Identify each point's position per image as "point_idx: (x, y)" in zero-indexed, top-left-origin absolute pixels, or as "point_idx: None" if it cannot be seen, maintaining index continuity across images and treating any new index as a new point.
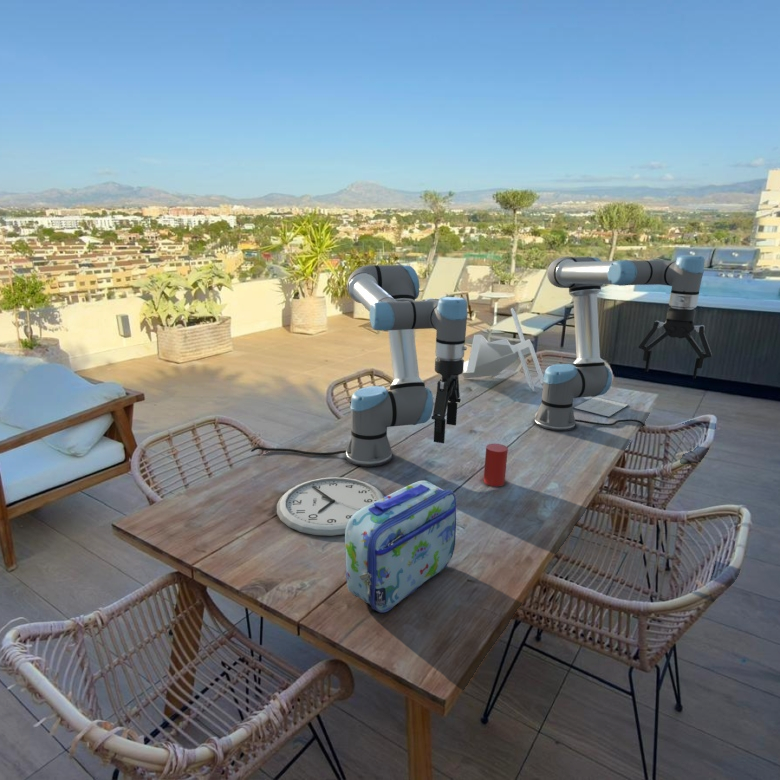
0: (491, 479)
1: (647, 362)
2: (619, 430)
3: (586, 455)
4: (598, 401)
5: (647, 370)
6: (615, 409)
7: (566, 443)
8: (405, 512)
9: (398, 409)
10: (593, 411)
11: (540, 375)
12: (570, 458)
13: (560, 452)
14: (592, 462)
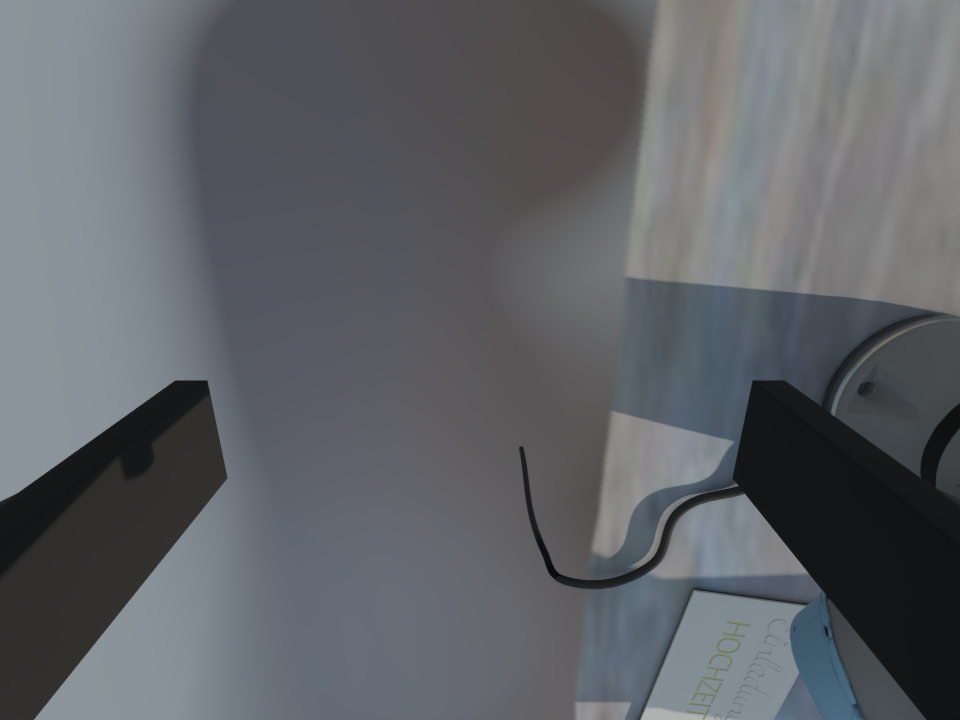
0: None
1: (859, 449)
2: (641, 479)
3: (754, 104)
4: (742, 711)
5: (761, 394)
6: (676, 667)
7: (850, 199)
8: None
9: None
10: (755, 609)
11: None
12: (826, 10)
13: (876, 60)
14: (722, 30)
